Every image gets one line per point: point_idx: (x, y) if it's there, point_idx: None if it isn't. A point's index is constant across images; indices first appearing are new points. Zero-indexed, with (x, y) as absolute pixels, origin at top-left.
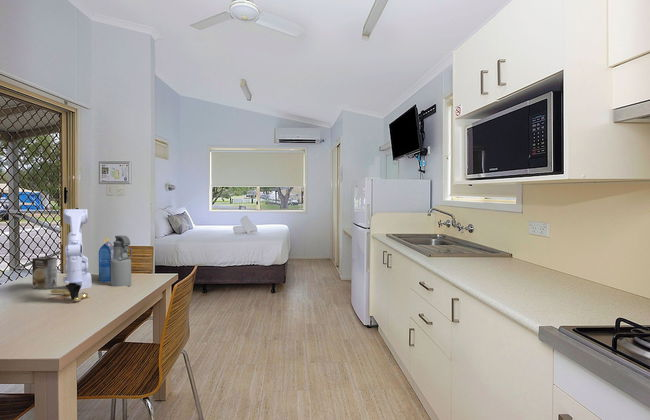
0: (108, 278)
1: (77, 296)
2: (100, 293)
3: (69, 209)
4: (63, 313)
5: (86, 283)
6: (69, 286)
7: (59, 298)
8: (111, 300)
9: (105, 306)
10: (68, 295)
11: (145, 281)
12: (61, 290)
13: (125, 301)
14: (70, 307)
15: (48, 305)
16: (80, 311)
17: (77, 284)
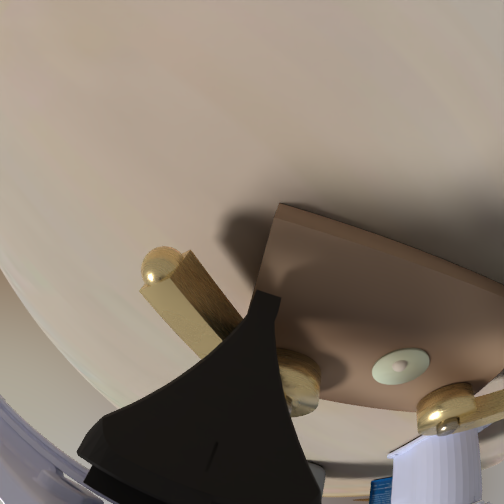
0: (379, 488)
1: (193, 325)
2: (296, 431)
3: None
4: (93, 16)
5: (407, 475)
6: (116, 454)
7: (478, 336)
8: (111, 341)
9: (34, 244)
10: (438, 390)
11: None
12: (494, 413)
13: (55, 320)
14: (192, 160)
15: (498, 193)
16: (39, 115)
17: (65, 455)
